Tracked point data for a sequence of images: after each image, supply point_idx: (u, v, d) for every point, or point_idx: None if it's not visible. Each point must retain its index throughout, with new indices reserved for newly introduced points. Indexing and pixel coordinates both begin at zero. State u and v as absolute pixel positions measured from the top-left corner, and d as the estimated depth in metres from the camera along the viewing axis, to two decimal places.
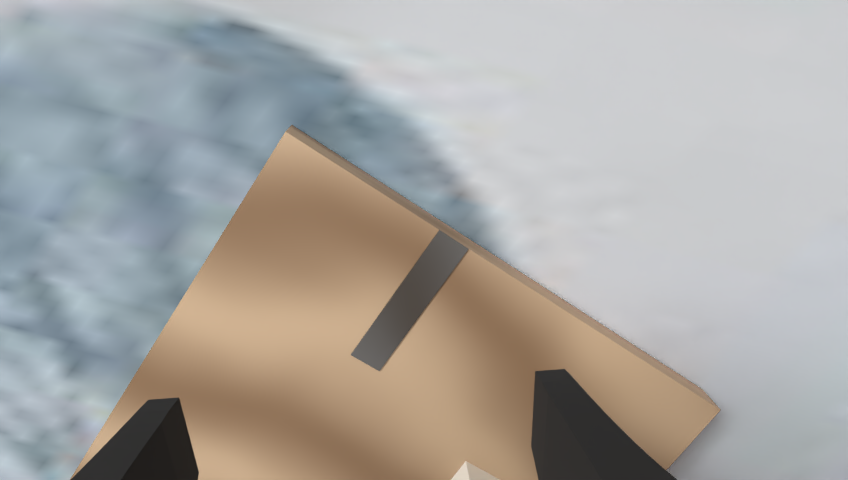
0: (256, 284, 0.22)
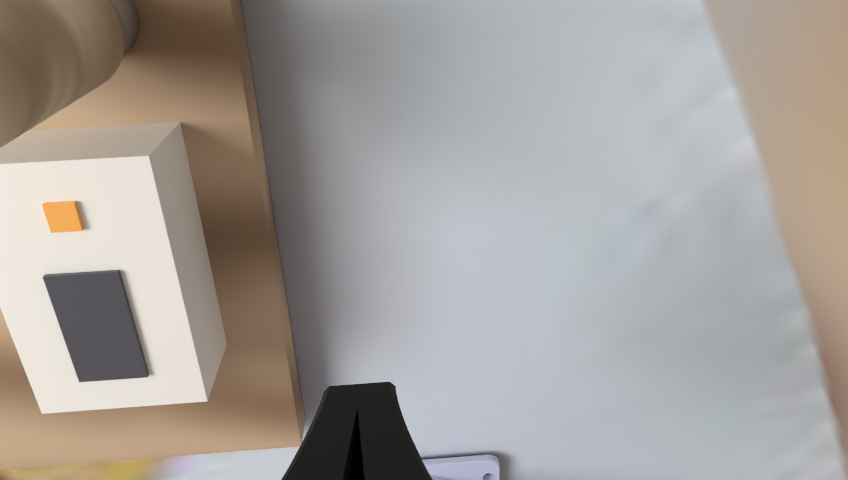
0: None
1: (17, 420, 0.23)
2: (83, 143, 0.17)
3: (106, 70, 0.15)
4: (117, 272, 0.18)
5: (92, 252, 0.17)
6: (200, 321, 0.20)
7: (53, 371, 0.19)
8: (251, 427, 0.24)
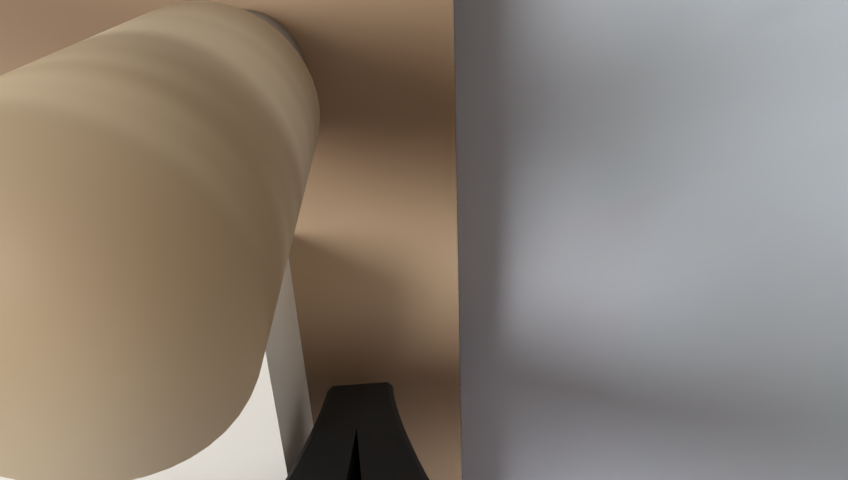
0: None
1: None
2: None
3: None
4: None
5: None
6: None
7: None
8: None
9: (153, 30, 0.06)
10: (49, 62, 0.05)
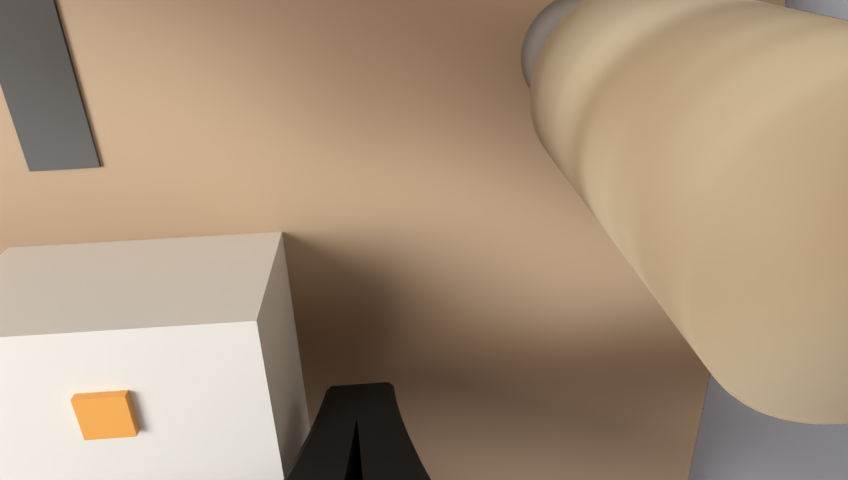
0: None
1: None
2: (137, 282, 0.11)
3: None
4: None
5: (150, 463, 0.11)
6: None
7: None
8: None
9: (754, 0, 0.06)
10: (815, 22, 0.05)
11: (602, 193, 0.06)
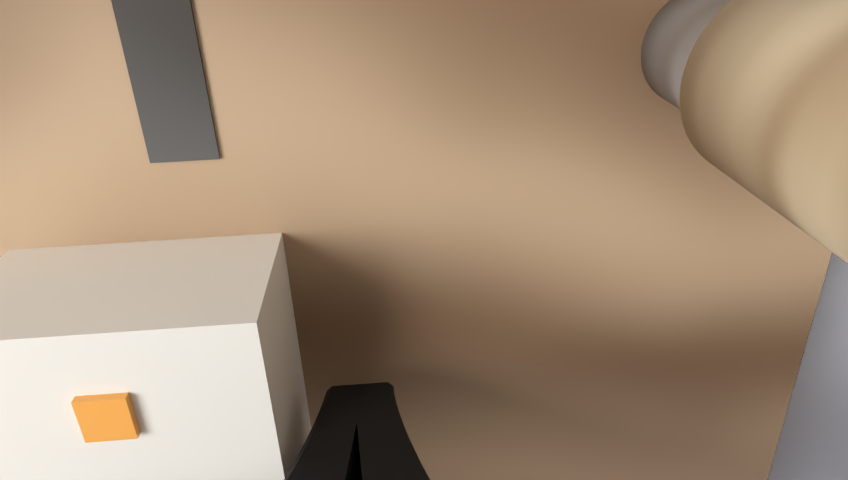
0: None
1: None
2: (137, 284, 0.11)
3: None
4: None
5: (151, 465, 0.11)
6: None
7: None
8: None
9: None
10: None
11: (818, 179, 0.06)
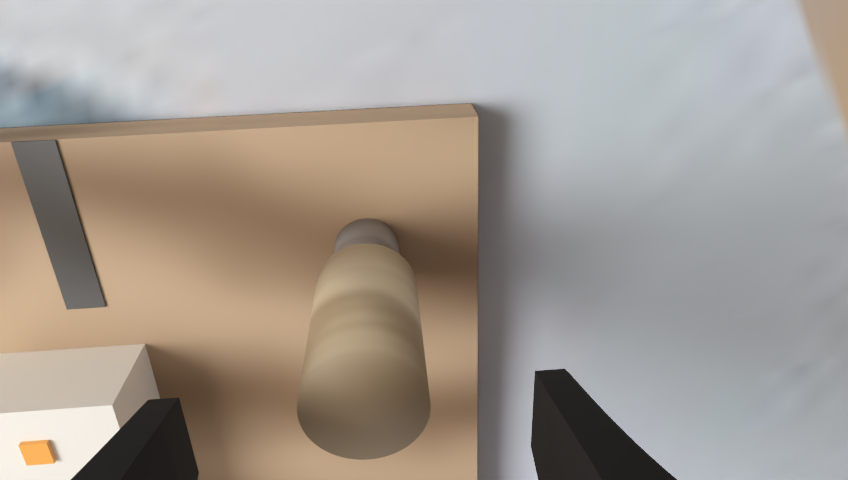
0: None
1: None
2: (56, 379, 0.20)
3: None
4: None
5: (64, 477, 0.20)
6: None
7: None
8: None
9: (370, 287, 0.15)
10: (355, 320, 0.14)
11: None
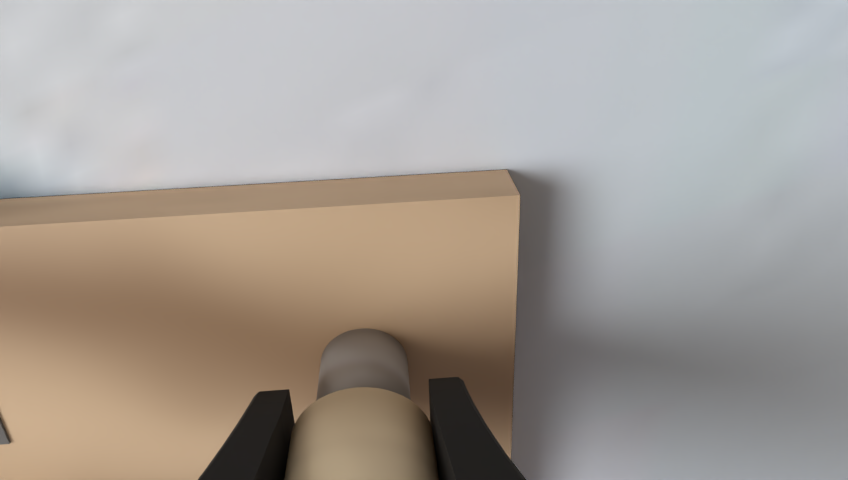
0: None
1: None
2: None
3: None
4: None
5: None
6: None
7: None
8: None
9: None
10: None
11: None
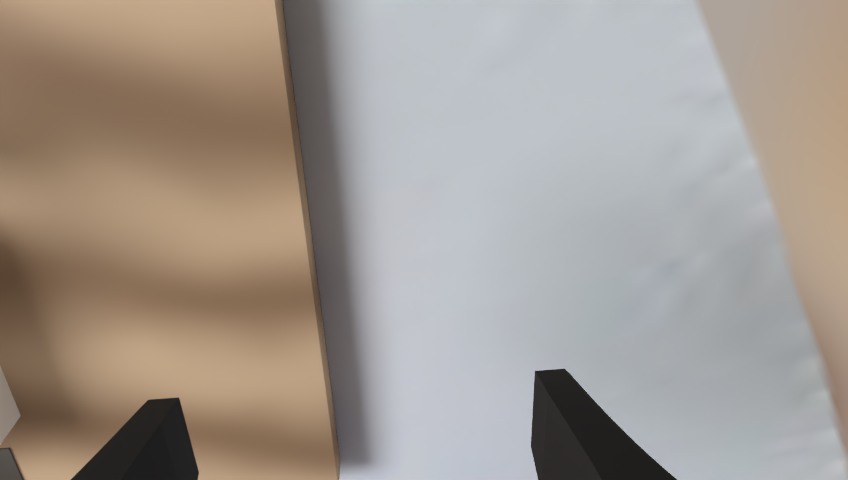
0: None
1: (70, 467, 0.25)
2: None
3: None
4: None
5: None
6: None
7: None
8: (291, 472, 0.26)
9: None
10: None
11: None
